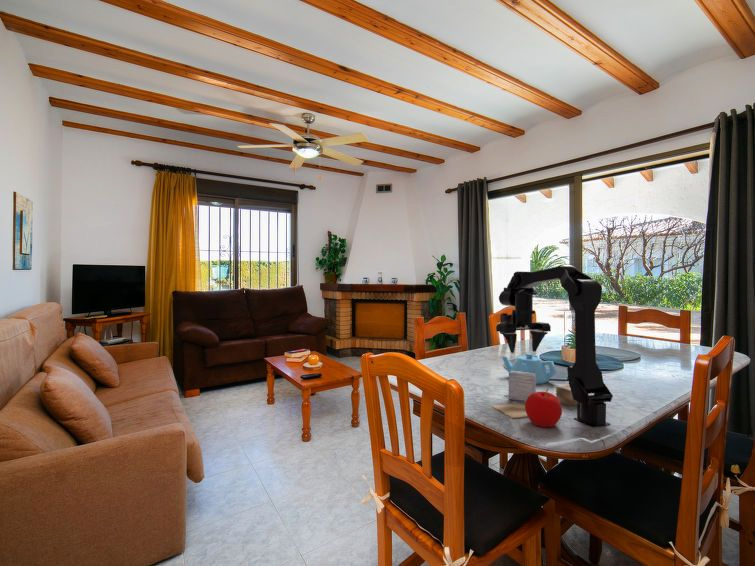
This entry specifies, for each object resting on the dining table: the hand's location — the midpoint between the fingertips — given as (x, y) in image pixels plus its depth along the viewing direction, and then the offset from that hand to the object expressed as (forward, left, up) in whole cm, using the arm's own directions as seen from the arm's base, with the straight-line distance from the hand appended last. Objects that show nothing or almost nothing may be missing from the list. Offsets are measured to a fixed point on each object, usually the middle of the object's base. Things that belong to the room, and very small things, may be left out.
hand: (523, 352), depth 128 cm
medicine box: (-7, +6, -14) cm, 17 cm away
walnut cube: (-14, -6, -14) cm, 21 cm away
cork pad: (-15, +14, -14) cm, 25 cm away
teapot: (+11, -12, -14) cm, 22 cm away
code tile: (-7, +6, -14) cm, 17 cm away
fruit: (-26, +14, -14) cm, 33 cm away
